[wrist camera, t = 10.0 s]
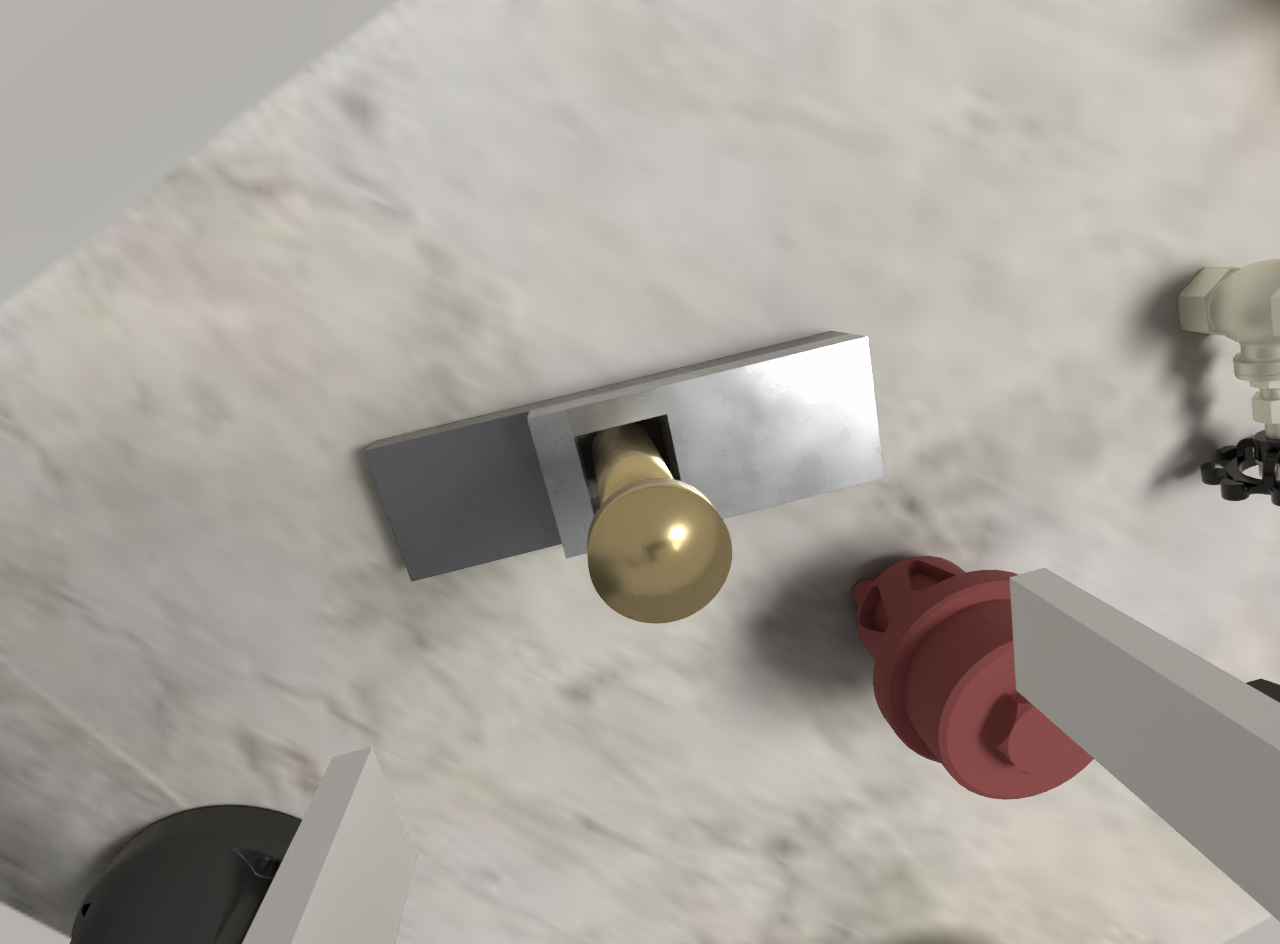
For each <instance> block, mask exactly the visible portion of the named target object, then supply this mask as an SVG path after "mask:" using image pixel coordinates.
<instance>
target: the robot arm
mask: <svg viewBox="0 0 1280 944" xmlns="http://www.w3.org/2000/svg"><path fill="white" fill-rule="evenodd" d="M1010 594H1011V611H1012V627H1013V644H1014V660H1015V677H1016V690H1017V691H1018V692H1019V693H1020V694H1021V695H1022V696H1023V697H1025V698H1026V699H1027V700H1028V701H1029V702H1030V703H1031V704H1032V705H1034V706H1035V707H1036V708H1037V709H1038V710H1039V711H1040V712H1042V713H1043V714H1044V715H1045V716H1046V717H1047V718H1048V719H1050V720H1051V721H1052V722H1053V723H1054V724H1055V725H1056V726H1058V727H1059V728H1060V729H1061V730H1062V731H1063V732H1064V733H1066V734H1067V735H1068V736H1069V737H1070V738H1071V739H1072V740H1073V741H1075V742H1076V743H1077V744H1078V745H1079V746H1080V747H1081V748H1083V749H1084V750H1085V751H1086V752H1087V753H1088V754H1089V755H1091V756H1092V757H1093V758H1094V759H1095V760H1096V761H1097V762H1099V763H1100V764H1101V765H1102V766H1103V767H1104V768H1105V769H1107V770H1108V771H1109V772H1110V773H1111V774H1112V775H1113V776H1114V777H1116V778H1117V779H1118V780H1119V781H1120V782H1121V783H1122V784H1124V785H1125V786H1126V787H1127V788H1128V789H1129V790H1130V791H1132V792H1133V793H1134V794H1135V795H1136V796H1137V797H1138V798H1140V799H1141V800H1142V801H1143V802H1144V803H1145V804H1146V805H1148V806H1149V807H1150V808H1151V809H1152V810H1153V811H1154V812H1155V813H1157V814H1158V815H1159V816H1160V817H1161V818H1162V819H1163V820H1165V821H1166V822H1167V823H1168V824H1169V825H1170V826H1171V827H1173V828H1174V829H1175V830H1176V831H1177V832H1178V833H1179V834H1181V835H1182V836H1183V837H1184V838H1185V839H1186V840H1187V841H1189V842H1190V843H1191V844H1192V845H1193V846H1194V847H1195V848H1196V849H1198V850H1199V851H1200V852H1201V853H1202V854H1203V855H1204V856H1206V857H1207V858H1208V859H1209V860H1210V861H1211V862H1212V863H1214V864H1215V865H1216V866H1217V867H1218V868H1219V869H1220V870H1222V871H1223V872H1224V873H1225V874H1226V875H1227V876H1228V877H1230V878H1231V879H1232V880H1233V881H1234V882H1235V883H1236V884H1237V885H1239V886H1240V887H1241V888H1242V889H1243V890H1244V891H1245V892H1247V893H1248V894H1249V895H1250V896H1251V897H1252V898H1253V899H1255V900H1256V901H1257V902H1258V903H1259V904H1260V905H1261V906H1263V907H1264V908H1265V909H1266V910H1267V911H1268V912H1269V913H1271V914H1272V915H1273V916H1274V917H1275V918H1276V919H1278V921H1280V685H1278V684H1275V683H1272V682H1270V681H1267V680H1264V679H1258V680H1255V681H1251V682H1247V683H1244V682H1243V681H1241V680H1239V679H1237V678H1236V677H1234V676H1232V675H1230V674H1229V673H1227V672H1225V671H1223V670H1222V669H1220V668H1218V667H1216V666H1215V665H1213V664H1211V663H1210V662H1208V661H1206V660H1204V659H1203V658H1201V657H1199V656H1197V655H1196V654H1194V653H1192V652H1190V651H1189V650H1187V649H1185V648H1183V647H1182V646H1180V645H1178V644H1176V643H1175V642H1173V641H1171V640H1169V639H1168V638H1166V637H1164V636H1162V635H1161V634H1159V633H1157V632H1155V631H1154V630H1152V629H1150V628H1149V627H1147V626H1145V625H1143V624H1142V623H1140V622H1138V621H1136V620H1135V619H1133V618H1131V617H1129V616H1128V615H1126V614H1124V613H1122V612H1121V611H1119V610H1117V609H1115V608H1114V607H1112V606H1110V605H1108V604H1107V603H1105V602H1103V601H1101V600H1100V599H1098V598H1096V597H1094V596H1093V595H1091V594H1089V593H1088V592H1086V591H1084V590H1082V589H1081V588H1079V587H1077V586H1075V585H1074V584H1072V583H1070V582H1068V581H1067V580H1065V579H1063V578H1061V577H1060V576H1058V575H1056V574H1054V573H1053V572H1051V571H1049V570H1047V569H1046V568H1043V569H1039V570H1035V571H1031V572H1028V573H1024V574H1020V575H1016V576H1013V577H1010ZM416 858H417V854H416V852H415V849H414V847H413V845H412V842H411V840H410V837H409V835H408V833H407V830H406V828H405V825H404V823H403V821H402V818H401V816H400V813H399V811H398V809H397V806H396V804H395V801H394V799H393V797H392V794H391V792H390V789H389V787H388V785H387V782H386V780H385V777H384V775H383V773H382V770H381V768H380V765H379V763H378V761H377V758H376V756H375V753H374V751H373V749H372V747H371V748H367V749H363V750H360V751H356V752H352V753H348V754H345V755H341V756H337V757H333V758H332V760H331V762H330V764H329V766H328V768H327V770H326V772H325V774H324V776H323V778H322V781H321V783H320V785H319V787H318V789H317V791H316V793H315V795H314V797H313V799H312V801H311V803H310V805H309V807H308V809H307V811H306V813H305V815H304V818H303V820H302V821H300V820H298V819H296V818H293V817H290V816H287V815H284V814H281V813H277V812H273V811H269V810H264V809H258V808H250V807H233V806H226V807H211V808H203V809H197V810H192V811H188V812H184V813H181V814H177V815H174V816H172V817H169V818H166V819H164V820H162V821H159V822H157V823H155V824H153V825H152V826H150V827H148V828H146V829H145V830H143V831H142V832H140V833H139V834H137V835H136V836H135V837H133V838H132V839H131V840H130V841H129V842H128V843H126V845H125V846H124V847H123V848H122V849H121V850H120V851H119V852H118V853H117V855H116V856H115V857H114V858H113V860H112V861H111V862H110V863H109V865H108V866H107V867H106V869H105V870H104V871H103V872H102V874H101V875H100V876H99V877H98V879H97V880H96V881H95V883H94V884H93V885H92V887H91V888H90V890H89V891H88V893H87V895H86V896H85V898H84V900H83V902H82V904H81V906H80V909H79V911H78V914H77V916H76V919H75V922H74V926H73V930H72V940H71V942H70V944H395V941H396V937H397V933H398V929H399V925H400V921H401V917H402V913H403V910H404V906H405V902H406V898H407V894H408V890H409V886H410V882H411V878H412V874H413V870H414V866H415V862H416Z"/></svg>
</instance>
